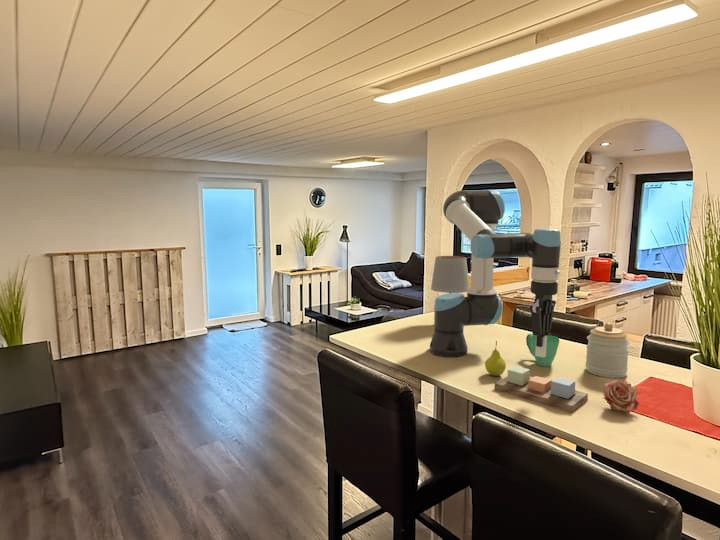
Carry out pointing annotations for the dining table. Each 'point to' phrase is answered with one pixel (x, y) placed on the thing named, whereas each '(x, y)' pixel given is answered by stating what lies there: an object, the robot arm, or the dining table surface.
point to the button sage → (518, 375)
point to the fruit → (495, 364)
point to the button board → (542, 396)
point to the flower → (621, 396)
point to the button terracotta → (539, 384)
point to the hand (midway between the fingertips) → (540, 355)
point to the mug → (550, 349)
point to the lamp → (450, 274)
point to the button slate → (563, 387)
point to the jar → (607, 352)
